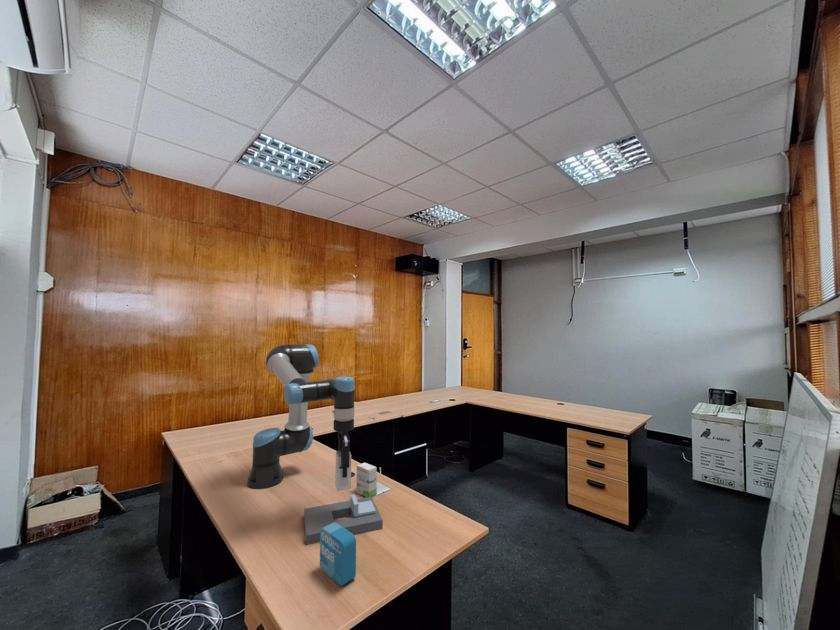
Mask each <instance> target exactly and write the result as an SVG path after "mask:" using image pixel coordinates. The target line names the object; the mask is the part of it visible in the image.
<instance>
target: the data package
mask: <svg viewBox="0 0 840 630" xmlns="http://www.w3.org/2000/svg"><path fill="white" fill-rule="evenodd" d="M319 566H320V569H321V570H322V571H323V572H324V574H326V575H327V576H328V577H329V578H331V579H332V580H333V581H334V582H336V583H335V584H338V586H339V587H342V586H345V584H347V583H349V582H351V581H352V580H353V579H355V578H356V575H357V538H356V536H355V535H353V534H352V533H350V532H349V531H347V530H346V529H344V528H343V527H342V526H340V525H339V524H337V523H336V522H334V523H332V524H330V525H327V526H325V527H323V528H322V529H321V531H320V542H319Z"/></svg>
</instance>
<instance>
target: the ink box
mask: <svg viewBox="0 0 840 630" xmlns="http://www.w3.org/2000/svg"><path fill="white" fill-rule="evenodd" d="M377 469H378V468H377V466H374V465H373V464H369V463H367V462H363V463H358V464H357V465H356V493H357V494H359V495H362V496H363V497H364V498H367V497H372V498H373V496H376V495H378V494H377V493H378V492H377V491H378V489H377V487H378V486H377V485H378V484H377V482H378V481H377V480H378V479H377V478H378V477H377V476H378V475H377V473H378V471H377Z"/></svg>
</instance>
